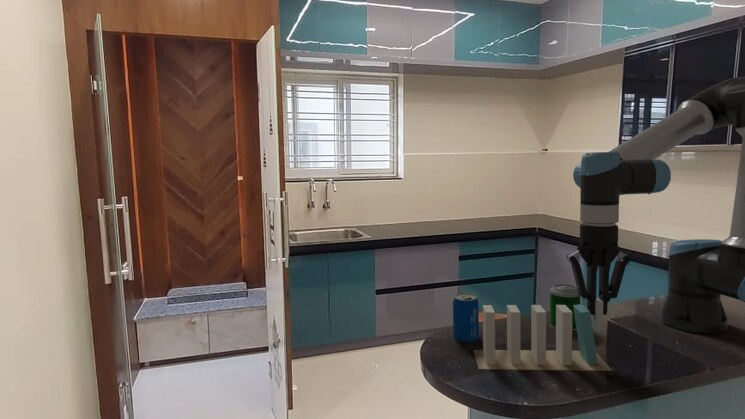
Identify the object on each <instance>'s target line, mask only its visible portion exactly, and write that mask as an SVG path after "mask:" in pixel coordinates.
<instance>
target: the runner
mask: <svg viewBox="0 0 745 419" xmlns="http://www.w3.org/2000/svg"><path fill="white" fill-rule="evenodd" d="M473 353H474V357H475V360H476V365H477V368H478V370H508V371H509V370H512V371H514V370H515V371H516V370H517V371H519V370H520V371H521V370H522V371H526V370H528V371H533V370H534V371H592V372H593V371H595V372H596V371H599V372H601V371H602V372H603V371H604V372H605V371H606V372H607V371H609V372H610V371H613V369H612V368H611V367H610V366H609V365H608V364H607V363H606V361H605V360H604V359H603V358H602V357H601V356H600V355H599V354H598V352H596V355H597V362H598V364H593V365H588V364H587V363H586V362H585V360H584V359H583V358H582V357H581V355H580V350H572V365H562V363H561V362H560V360H559V359H558V357H557V356H556V349H555V350H552V349H551V350H547V349H546V365H539V364H536V362H535V360H534V359H533V357H532V355H531V349H530V350H527V349H526V350H525V349H524V350H523V349H520V357H521V364H511V362H510V360H509V358H508V355H507V349H495V364H486V361H485V358H484V355H483V349H473Z"/></svg>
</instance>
